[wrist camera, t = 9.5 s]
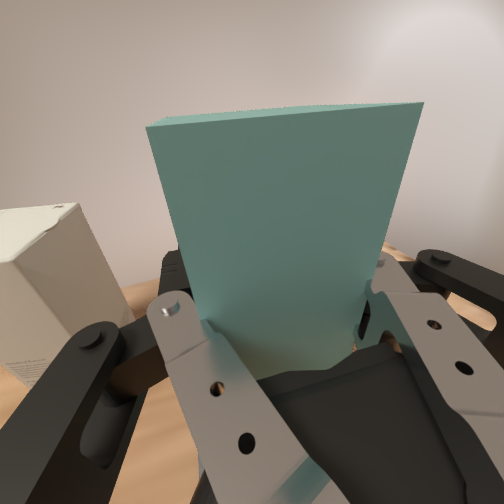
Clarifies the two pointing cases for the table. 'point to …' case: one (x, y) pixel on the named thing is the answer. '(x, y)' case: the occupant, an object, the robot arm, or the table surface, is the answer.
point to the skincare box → (51, 286)
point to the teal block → (283, 221)
